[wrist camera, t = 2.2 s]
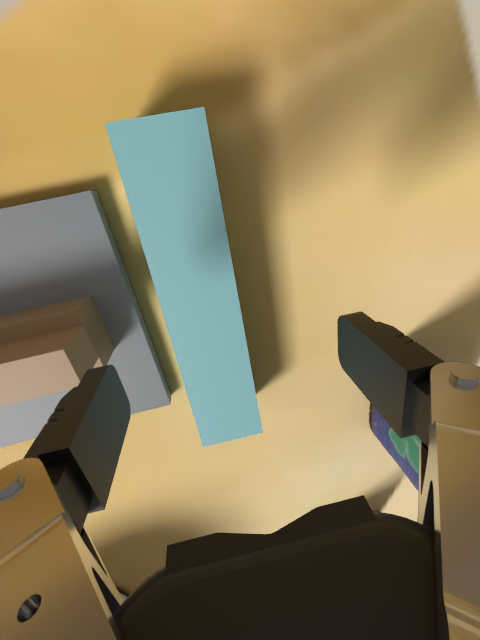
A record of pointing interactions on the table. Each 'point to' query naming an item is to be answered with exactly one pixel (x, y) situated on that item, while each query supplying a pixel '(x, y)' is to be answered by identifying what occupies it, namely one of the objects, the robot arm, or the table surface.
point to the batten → (190, 264)
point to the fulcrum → (66, 313)
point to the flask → (397, 445)
